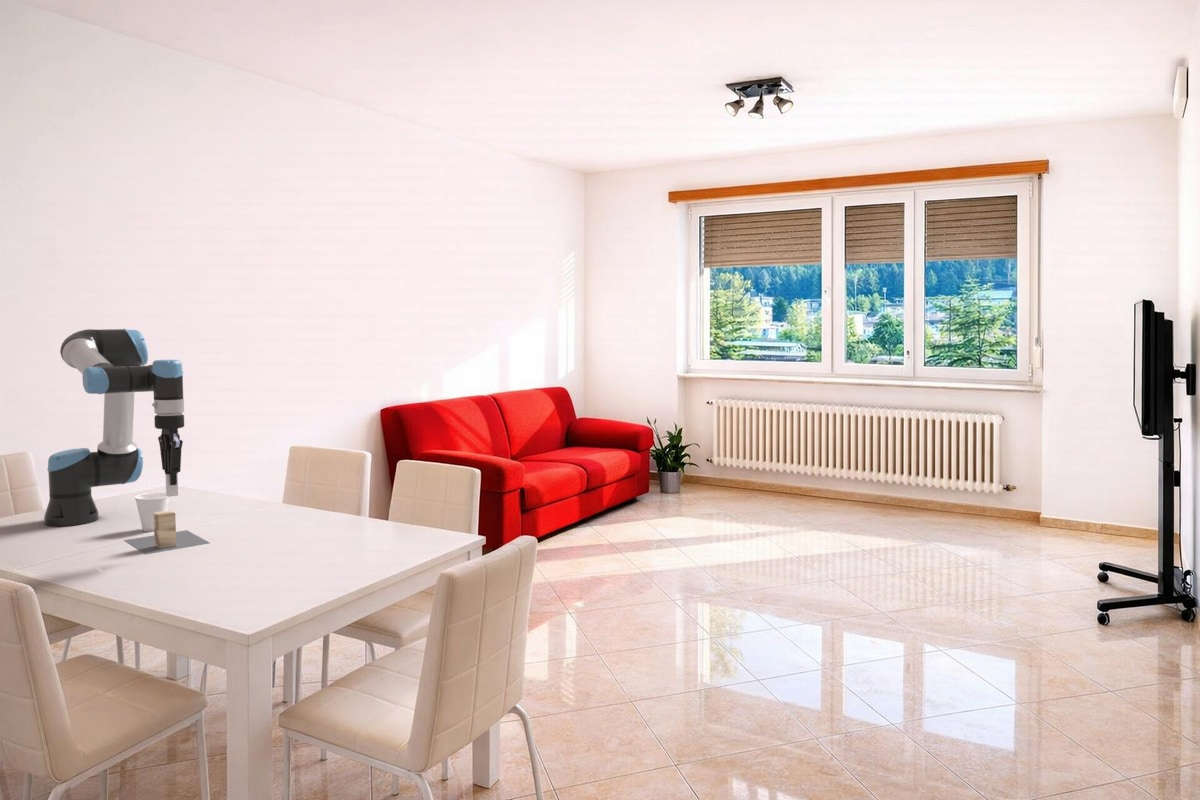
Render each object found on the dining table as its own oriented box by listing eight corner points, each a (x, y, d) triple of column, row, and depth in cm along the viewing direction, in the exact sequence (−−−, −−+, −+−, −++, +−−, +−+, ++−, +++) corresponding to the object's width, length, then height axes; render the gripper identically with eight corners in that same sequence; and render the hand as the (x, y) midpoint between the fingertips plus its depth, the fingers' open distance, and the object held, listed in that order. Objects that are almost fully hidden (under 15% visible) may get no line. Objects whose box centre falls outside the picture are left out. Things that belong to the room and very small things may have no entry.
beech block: (154, 546, 245) (153, 512, 244) (171, 543, 249) (170, 510, 248) (159, 549, 242) (158, 515, 241) (176, 546, 245) (175, 513, 244)
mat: (123, 541, 251) (123, 540, 251) (186, 531, 264) (186, 530, 264) (145, 555, 237) (145, 554, 237) (210, 544, 250) (210, 543, 250)
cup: (155, 534, 259) (154, 500, 258) (128, 532, 261) (126, 498, 260) (178, 526, 269) (176, 493, 268) (151, 524, 271) (150, 491, 270)
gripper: (147, 413, 238) (150, 494, 241) (162, 417, 229) (165, 501, 231) (175, 411, 244) (178, 490, 246) (191, 415, 235) (194, 497, 237)
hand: (172, 495), depth 239 cm, fingers closed
